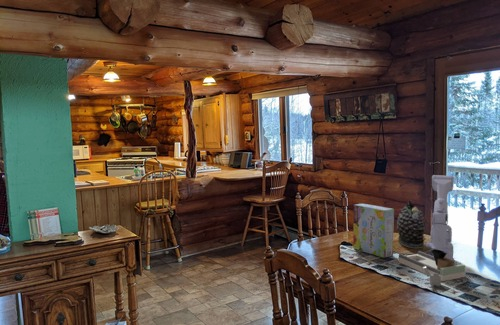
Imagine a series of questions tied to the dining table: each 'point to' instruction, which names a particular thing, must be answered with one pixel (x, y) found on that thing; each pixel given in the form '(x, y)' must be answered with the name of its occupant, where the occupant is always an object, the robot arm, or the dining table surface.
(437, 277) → the lighter
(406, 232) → the pine cone
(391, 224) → the snack box
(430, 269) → the trap channel
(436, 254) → the robot arm
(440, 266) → the walnut block
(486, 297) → the dining table surface
